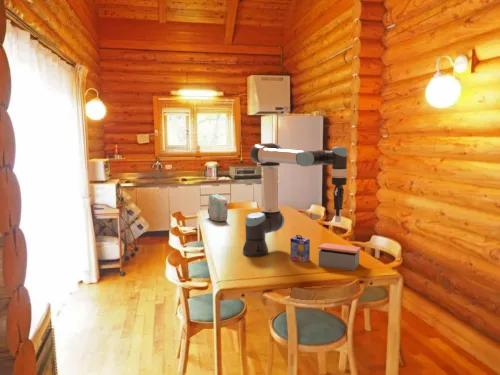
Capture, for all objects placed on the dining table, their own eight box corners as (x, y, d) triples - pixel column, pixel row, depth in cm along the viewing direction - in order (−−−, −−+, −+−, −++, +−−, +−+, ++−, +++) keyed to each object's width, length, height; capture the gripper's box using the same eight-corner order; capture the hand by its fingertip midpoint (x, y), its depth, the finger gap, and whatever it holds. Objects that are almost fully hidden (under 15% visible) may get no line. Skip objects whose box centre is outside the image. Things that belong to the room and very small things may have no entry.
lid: (318, 248, 202) (318, 246, 202) (324, 244, 213) (324, 242, 213) (356, 253, 193) (356, 251, 193) (360, 249, 205) (360, 247, 205)
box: (318, 265, 203) (318, 251, 202) (324, 259, 214) (324, 245, 213) (354, 271, 195) (355, 255, 194) (359, 264, 206) (359, 249, 204)
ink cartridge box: (289, 259, 215) (289, 234, 213) (295, 256, 219) (295, 232, 217) (304, 262, 209) (305, 236, 207) (310, 260, 213) (310, 234, 211)
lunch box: (206, 217, 329) (206, 193, 326) (217, 216, 334) (217, 192, 331) (217, 223, 305) (216, 197, 302) (229, 222, 309) (228, 196, 307)
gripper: (343, 178, 188) (342, 225, 191) (349, 176, 200) (348, 220, 203) (328, 177, 192) (327, 223, 195) (335, 175, 203) (334, 218, 206)
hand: (338, 221), depth 199 cm, fingers closed
